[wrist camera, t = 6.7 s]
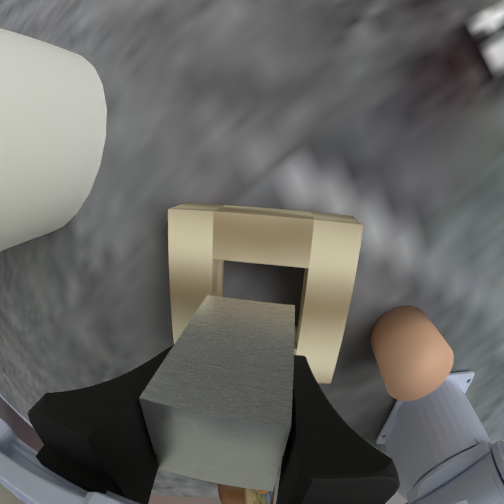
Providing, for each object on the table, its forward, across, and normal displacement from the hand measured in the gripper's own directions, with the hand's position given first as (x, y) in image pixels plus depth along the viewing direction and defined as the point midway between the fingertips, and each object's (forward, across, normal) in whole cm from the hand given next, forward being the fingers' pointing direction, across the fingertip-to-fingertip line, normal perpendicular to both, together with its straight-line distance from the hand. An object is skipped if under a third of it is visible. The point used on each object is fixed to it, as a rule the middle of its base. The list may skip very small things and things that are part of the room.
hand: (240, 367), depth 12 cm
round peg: (+9, -11, +3) cm, 14 cm away
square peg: (+2, 0, 0) cm, 2 cm away
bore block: (+9, 0, 0) cm, 9 cm away
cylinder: (+9, +21, -11) cm, 25 cm away
